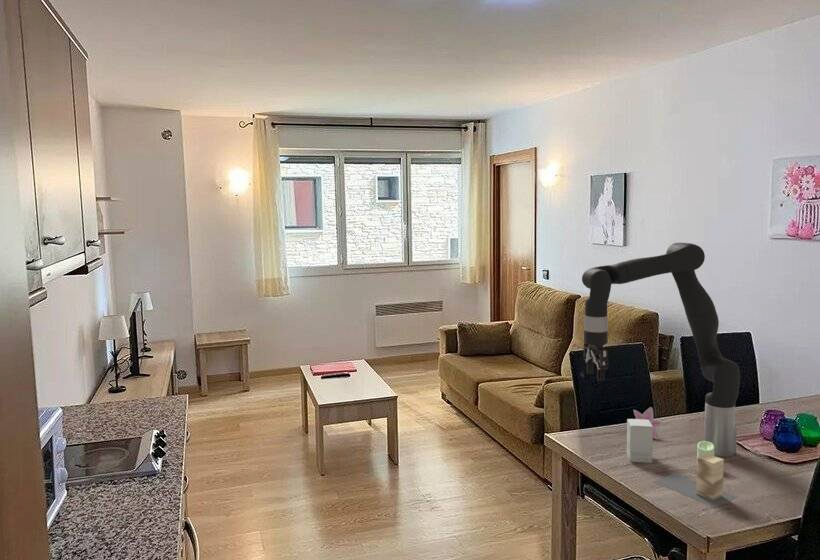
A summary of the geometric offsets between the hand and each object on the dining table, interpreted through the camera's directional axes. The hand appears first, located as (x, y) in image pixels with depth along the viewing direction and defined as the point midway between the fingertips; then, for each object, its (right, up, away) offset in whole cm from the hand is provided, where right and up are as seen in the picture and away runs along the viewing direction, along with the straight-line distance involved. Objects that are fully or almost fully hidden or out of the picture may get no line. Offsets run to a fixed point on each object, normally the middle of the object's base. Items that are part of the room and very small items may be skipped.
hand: (595, 377), depth 200 cm
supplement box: (+17, -29, +5) cm, 34 cm away
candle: (+35, -29, -4) cm, 46 cm away
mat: (+24, -31, -19) cm, 44 cm away
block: (+26, -31, -24) cm, 47 cm away
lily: (+26, -26, +25) cm, 45 cm away
